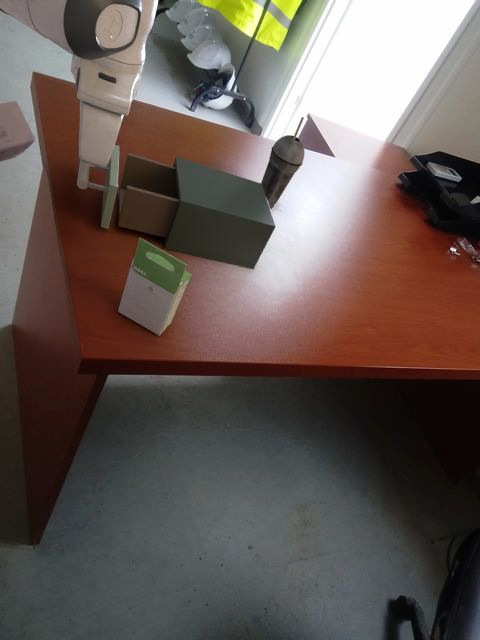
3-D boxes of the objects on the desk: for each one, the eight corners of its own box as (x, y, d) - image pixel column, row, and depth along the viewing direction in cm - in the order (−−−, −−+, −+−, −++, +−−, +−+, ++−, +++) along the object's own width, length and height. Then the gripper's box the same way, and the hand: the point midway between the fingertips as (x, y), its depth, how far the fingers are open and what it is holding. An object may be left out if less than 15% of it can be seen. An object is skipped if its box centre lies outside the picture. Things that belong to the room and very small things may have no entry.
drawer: (71, 220, 71) (78, 175, 66) (77, 177, 79) (83, 134, 74) (194, 249, 80) (208, 211, 74) (188, 207, 87) (201, 171, 82)
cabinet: (164, 249, 78) (181, 200, 71) (161, 203, 86) (175, 156, 80) (253, 269, 85) (275, 226, 78) (242, 225, 93) (261, 183, 87)
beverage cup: (284, 207, 106) (327, 125, 93) (269, 214, 101) (311, 128, 88) (261, 189, 107) (300, 105, 94) (244, 195, 102) (282, 107, 89)
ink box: (172, 322, 67) (201, 252, 58) (159, 337, 64) (187, 266, 55) (132, 298, 67) (154, 224, 58) (116, 312, 64) (137, 236, 55)
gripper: (86, 34, 67) (73, 124, 76) (77, 91, 54) (62, 190, 63) (130, 52, 70) (112, 136, 79) (131, 110, 57) (109, 203, 66)
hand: (90, 161), depth 71 cm, fingers closed
